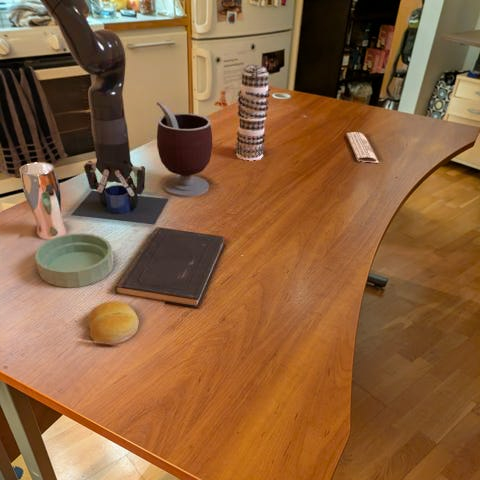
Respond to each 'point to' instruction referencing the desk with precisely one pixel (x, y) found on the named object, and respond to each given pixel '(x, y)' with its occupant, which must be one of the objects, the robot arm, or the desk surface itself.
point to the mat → (142, 213)
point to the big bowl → (74, 260)
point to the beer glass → (43, 198)
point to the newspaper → (361, 147)
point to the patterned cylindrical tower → (252, 112)
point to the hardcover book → (173, 267)
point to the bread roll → (112, 322)
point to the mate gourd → (184, 151)
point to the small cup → (117, 199)
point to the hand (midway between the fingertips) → (119, 206)
